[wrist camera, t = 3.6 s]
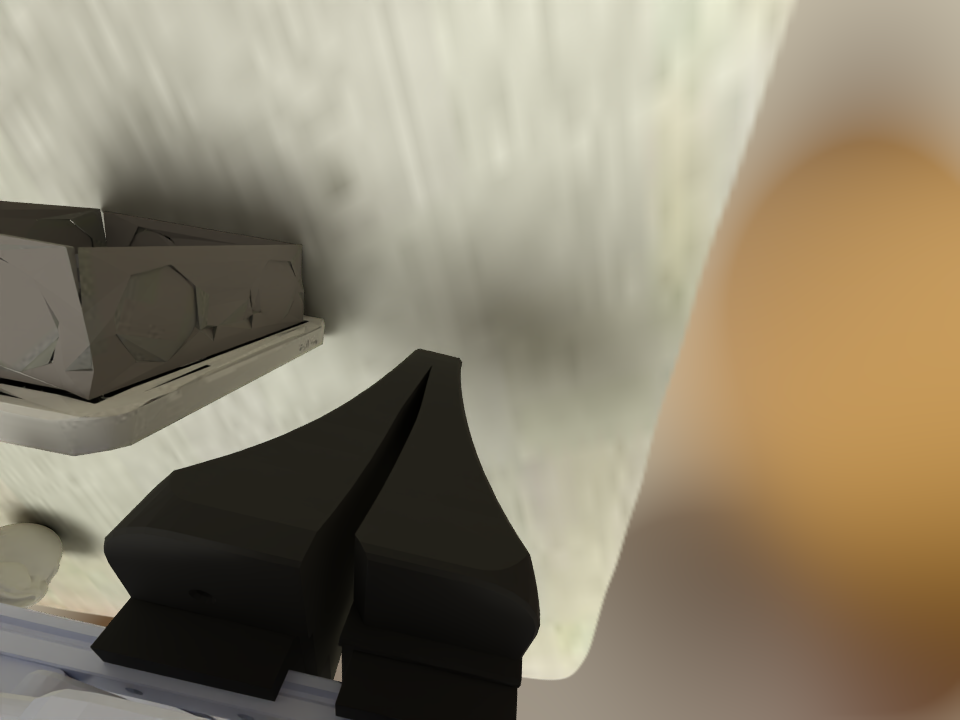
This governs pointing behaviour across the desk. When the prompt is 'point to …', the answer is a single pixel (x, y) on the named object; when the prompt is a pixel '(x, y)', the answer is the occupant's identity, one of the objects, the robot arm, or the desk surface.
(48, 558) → the grey rounded carved piece
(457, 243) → the desk surface
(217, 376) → the electrical switch
